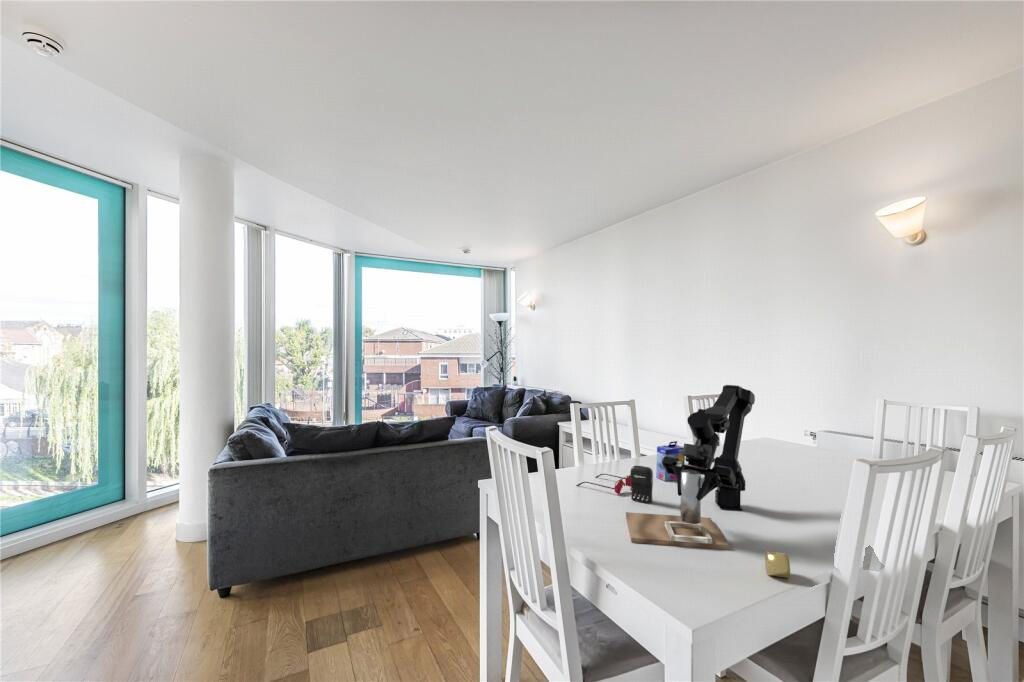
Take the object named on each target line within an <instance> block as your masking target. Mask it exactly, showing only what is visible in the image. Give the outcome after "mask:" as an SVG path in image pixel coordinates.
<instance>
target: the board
mask: <svg viewBox="0 0 1024 682" xmlns="http://www.w3.org/2000/svg"><path fill="white" fill-rule="evenodd" d="M625 519H626V523H627V529H628V533H629V537H630V541H631V542H630V543H637V544H648V545H649V544H650V545H660V546H662V545H664V546H672V547H673V546H675V547H687V548H689V547H690V548H702V549H715V550H716V549H717V550H726V551H728V550H730V544H729V543H728V541H727V540H726V539H725V537H724V536H723V534H722V533H721V531H720V530H719V528H718V527H717V526H716V524H715V522H714V521H713V520H712V518H711V517H707V516H706V517H705V516H701V518H700V523H699V524H688V523H685V522H683V521H681V515H676V514H674V515H673V514H657V513H644V512H625Z"/></svg>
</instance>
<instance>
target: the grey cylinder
mask: <svg viewBox="0 0 1024 682" xmlns="http://www.w3.org/2000/svg"><path fill="white" fill-rule="evenodd" d="M701 479H702V474H701V473H700V472H698V471H694V470H682V471H681V495H680V516H681V521H683V522H685V523H688V524H699V523H700V518H701V517H702V516H701V512H702V511H701V506H702V504H701V501H702V500H700V501H698V494H699V491H700V489H701V486H702V485H701V484H702V481H701Z"/></svg>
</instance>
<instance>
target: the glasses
mask: <svg viewBox="0 0 1024 682" xmlns="http://www.w3.org/2000/svg"><path fill="white" fill-rule="evenodd" d="M600 476H610V477H614V478H619V479H618V480H617V481H616V482H615V483H614V487H611V486H605V485H603V484H599V483H598V484H597V483H594V482H589V481H582V482H580V483H578V484H576V485H575V486H576V487H579V486H581V485H582V484H585V483H587V484H590V485H595V486H599V487H602V488H607V489H611V490H614V492H615V493H616V494H617V495H619V494H620V493H621V491H622V489H623V486H624V487H625V486H626V487H630V488H632V482H630V474H629V475H627V476H624V477H623V476H617V475H613V474H608V473H601V474H598V475H596V476H595V478H596V479H597V478H599V477H600ZM624 481H625V482H624Z"/></svg>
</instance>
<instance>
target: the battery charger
mask: <svg viewBox="0 0 1024 682" xmlns="http://www.w3.org/2000/svg"><path fill="white" fill-rule="evenodd" d="M629 475H630V482H632V487H631V497H630V498H631V500H632V501H635V502H639V503H644V504H650V503H652V502H653V501H654V500H653V493H654V492H653V487H654V471H653V469H652V468H651V467H650V466H647V465H641V464H634V465H633V466H632V467H631V469H630V474H629Z"/></svg>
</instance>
